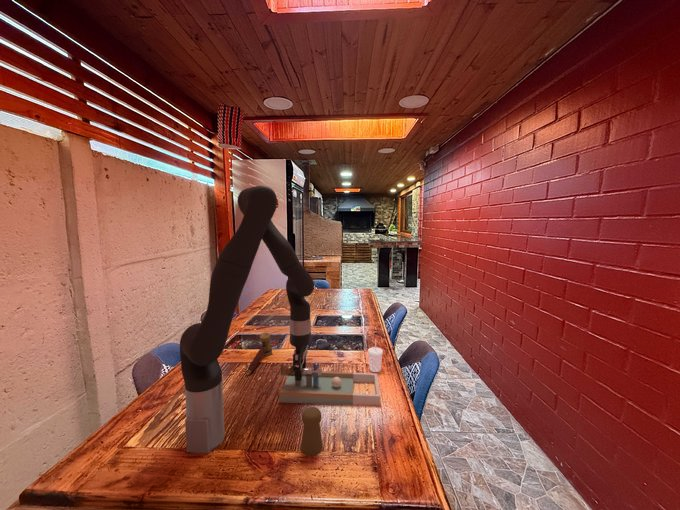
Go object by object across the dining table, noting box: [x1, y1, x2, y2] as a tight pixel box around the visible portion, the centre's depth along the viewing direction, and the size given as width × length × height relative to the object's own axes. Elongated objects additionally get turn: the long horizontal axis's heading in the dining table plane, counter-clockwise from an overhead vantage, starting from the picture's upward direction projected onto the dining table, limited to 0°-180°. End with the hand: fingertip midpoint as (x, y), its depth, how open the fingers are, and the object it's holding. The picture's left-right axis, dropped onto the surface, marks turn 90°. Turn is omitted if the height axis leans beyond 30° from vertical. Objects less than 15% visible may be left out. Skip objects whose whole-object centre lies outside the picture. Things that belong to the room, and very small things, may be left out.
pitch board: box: [278, 370, 381, 406], centre depth 99 cm, size 14×34×7 cm, turn 87°
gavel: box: [246, 332, 273, 376], centre depth 119 cm, size 21×5×10 cm, turn 171°
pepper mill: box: [300, 406, 324, 457], centre depth 74 cm, size 6×6×11 cm
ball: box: [332, 377, 341, 387], centre depth 99 cm, size 4×4×4 cm
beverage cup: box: [367, 338, 384, 373], centre depth 113 cm, size 6×6×14 cm
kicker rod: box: [280, 362, 323, 387], centre depth 99 cm, size 3×14×8 cm, turn 87°
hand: (300, 373), depth 99 cm, fingers open, 8 cm apart
